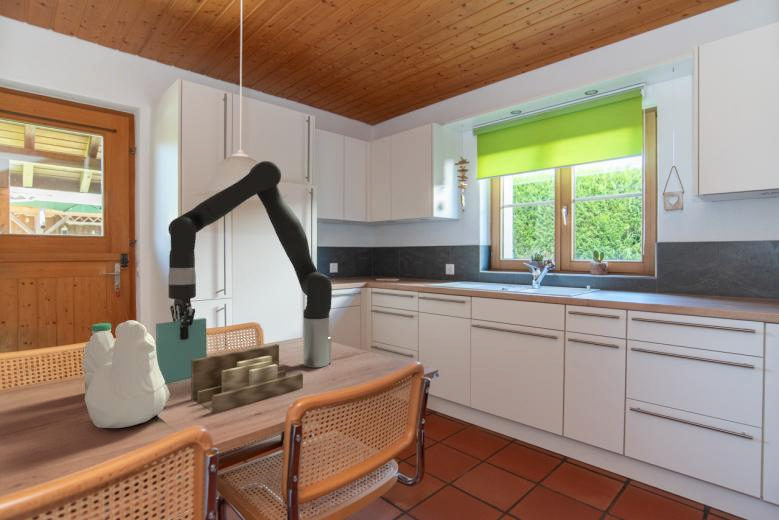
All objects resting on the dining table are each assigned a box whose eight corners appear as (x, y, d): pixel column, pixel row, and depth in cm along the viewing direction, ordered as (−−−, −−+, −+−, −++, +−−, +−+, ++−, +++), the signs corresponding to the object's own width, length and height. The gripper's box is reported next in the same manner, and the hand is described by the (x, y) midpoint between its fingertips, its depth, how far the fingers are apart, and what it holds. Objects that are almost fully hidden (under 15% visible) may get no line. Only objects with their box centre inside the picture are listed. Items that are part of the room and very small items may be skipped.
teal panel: (204, 373, 132) (203, 317, 132) (206, 374, 131) (206, 318, 130) (156, 384, 122) (155, 323, 121) (159, 385, 120) (158, 324, 120)
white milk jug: (181, 420, 100) (180, 318, 99) (106, 444, 87) (105, 328, 86) (136, 397, 115) (135, 309, 114) (66, 415, 102) (65, 316, 101)
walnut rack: (276, 382, 129) (276, 344, 129) (302, 392, 120) (302, 351, 119) (191, 404, 110) (191, 359, 110) (214, 419, 100) (214, 370, 100)
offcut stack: (268, 385, 121) (269, 355, 121) (277, 389, 118) (277, 358, 118) (219, 399, 110) (219, 365, 110) (227, 403, 107) (227, 369, 106)
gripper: (204, 283, 124) (204, 340, 124) (185, 280, 133) (186, 333, 133) (178, 284, 118) (178, 344, 119) (160, 281, 128) (161, 337, 128)
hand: (182, 338), depth 126 cm, fingers closed on teal panel, 2 cm apart
